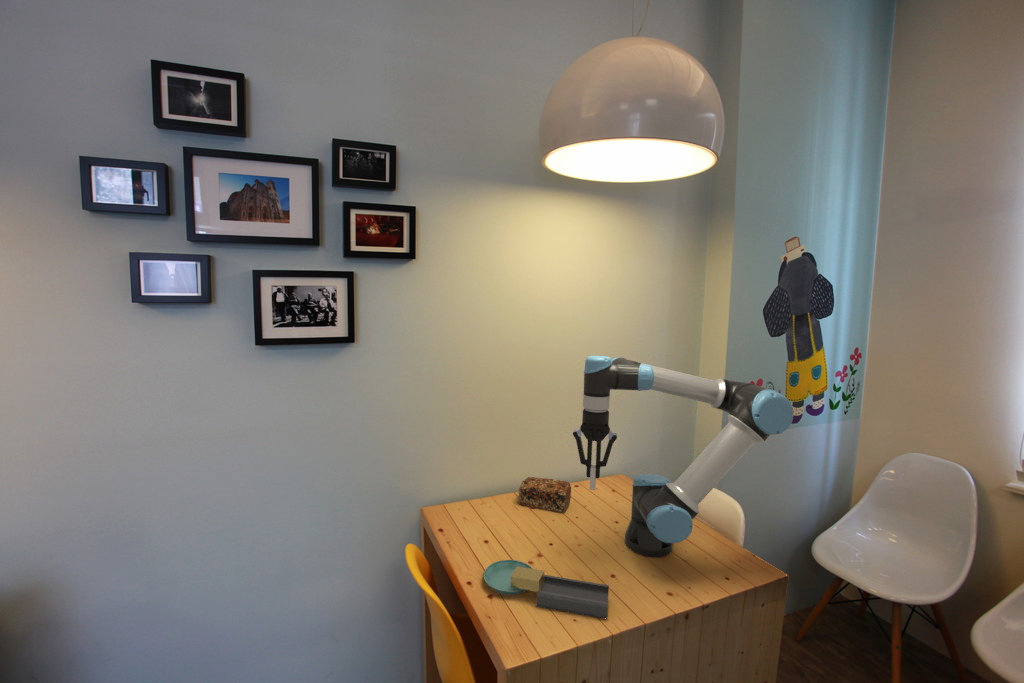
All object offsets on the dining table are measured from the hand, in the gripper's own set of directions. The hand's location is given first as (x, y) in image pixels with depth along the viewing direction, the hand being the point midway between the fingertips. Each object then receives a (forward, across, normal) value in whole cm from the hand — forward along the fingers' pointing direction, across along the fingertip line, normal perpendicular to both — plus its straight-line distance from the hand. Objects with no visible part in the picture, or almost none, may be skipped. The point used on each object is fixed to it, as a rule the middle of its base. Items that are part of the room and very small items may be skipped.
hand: (592, 487), depth 135 cm
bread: (+25, +20, -38) cm, 49 cm away
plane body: (+24, +3, +18) cm, 30 cm away
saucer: (+25, +21, +14) cm, 35 cm away
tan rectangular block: (+22, +15, +17) cm, 32 cm away
